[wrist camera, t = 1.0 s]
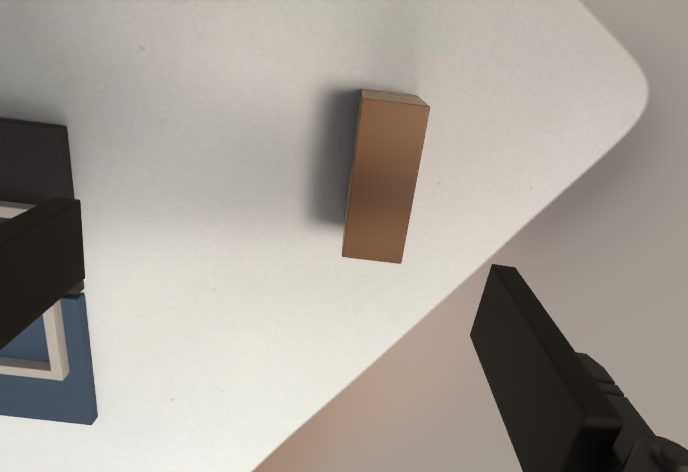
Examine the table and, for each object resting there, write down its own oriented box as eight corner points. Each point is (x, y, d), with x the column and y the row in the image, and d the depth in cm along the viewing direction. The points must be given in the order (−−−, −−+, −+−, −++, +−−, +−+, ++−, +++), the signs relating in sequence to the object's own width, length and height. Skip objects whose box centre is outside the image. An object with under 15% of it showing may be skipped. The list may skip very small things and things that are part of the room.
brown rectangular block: (361, 88, 28) (362, 97, 24) (418, 95, 28) (430, 106, 24) (344, 226, 32) (341, 257, 27) (394, 232, 32) (401, 264, 27)
